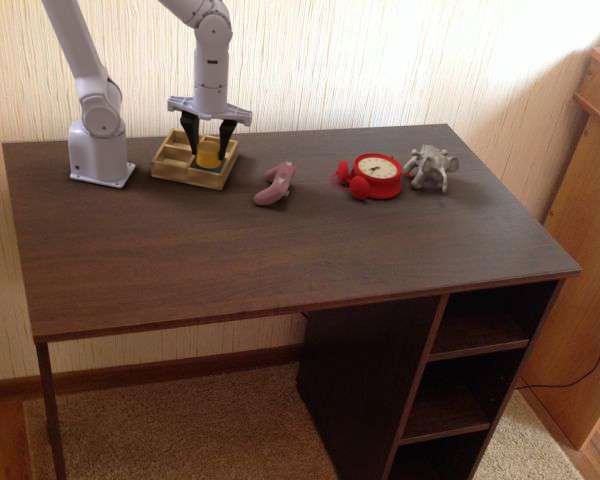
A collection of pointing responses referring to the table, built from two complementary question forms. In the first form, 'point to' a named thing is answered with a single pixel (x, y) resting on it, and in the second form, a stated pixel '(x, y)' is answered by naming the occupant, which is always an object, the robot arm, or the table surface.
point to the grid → (191, 161)
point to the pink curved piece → (276, 184)
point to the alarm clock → (371, 176)
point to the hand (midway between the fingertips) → (208, 155)
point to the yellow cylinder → (208, 154)
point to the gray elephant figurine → (431, 166)
